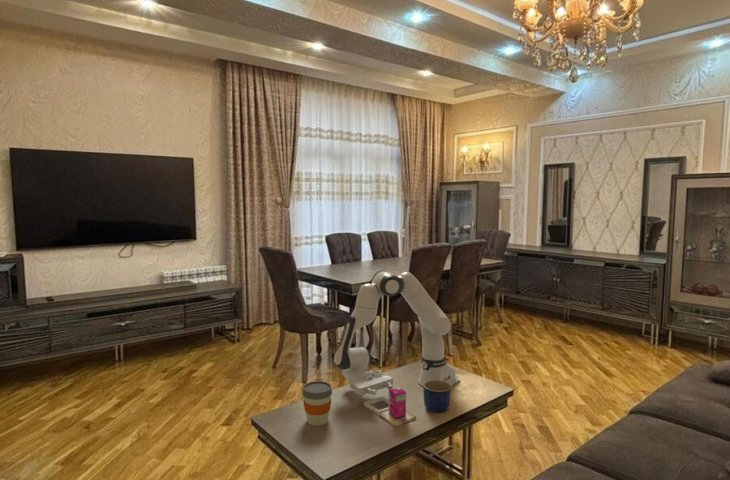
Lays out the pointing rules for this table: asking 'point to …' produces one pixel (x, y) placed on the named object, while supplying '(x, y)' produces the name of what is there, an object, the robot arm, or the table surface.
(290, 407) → the table surface
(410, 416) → the board
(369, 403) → the square tray
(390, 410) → the supplement box
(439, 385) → the planter
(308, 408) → the reusable coffee cup
